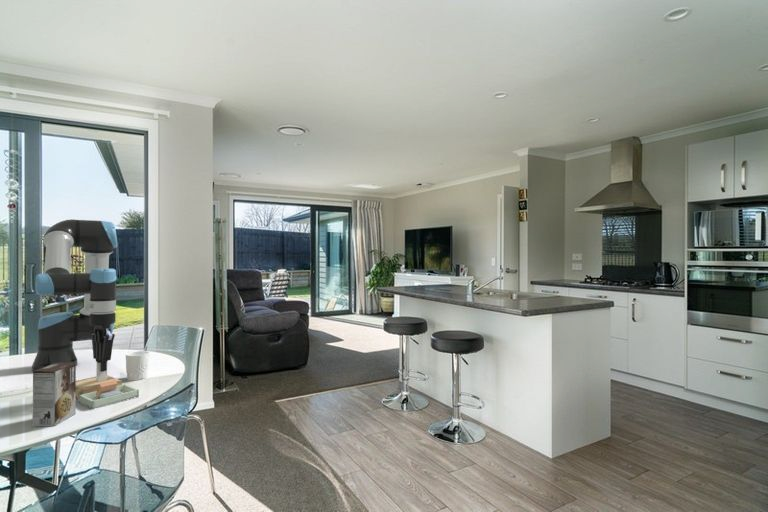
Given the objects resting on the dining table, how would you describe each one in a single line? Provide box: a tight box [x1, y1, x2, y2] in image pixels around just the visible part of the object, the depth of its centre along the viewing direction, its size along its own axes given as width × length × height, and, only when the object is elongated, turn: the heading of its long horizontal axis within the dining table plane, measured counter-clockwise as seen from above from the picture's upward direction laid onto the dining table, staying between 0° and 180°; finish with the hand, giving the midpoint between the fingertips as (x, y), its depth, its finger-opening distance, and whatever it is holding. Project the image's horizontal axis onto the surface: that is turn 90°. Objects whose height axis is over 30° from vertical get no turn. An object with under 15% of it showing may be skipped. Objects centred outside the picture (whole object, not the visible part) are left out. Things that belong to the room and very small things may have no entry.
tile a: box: [96, 380, 118, 399], centre depth 138 cm, size 5×5×2 cm
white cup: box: [125, 350, 150, 382], centre depth 161 cm, size 8×8×10 cm
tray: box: [78, 383, 140, 410], centre depth 137 cm, size 10×14×2 cm
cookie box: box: [31, 363, 77, 427], centre depth 120 cm, size 9×6×16 cm
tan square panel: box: [76, 374, 123, 401], centre depth 144 cm, size 13×12×4 cm
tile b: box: [100, 390, 123, 399], centre depth 137 cm, size 5×5×2 cm
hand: (101, 380), depth 140 cm, fingers closed
